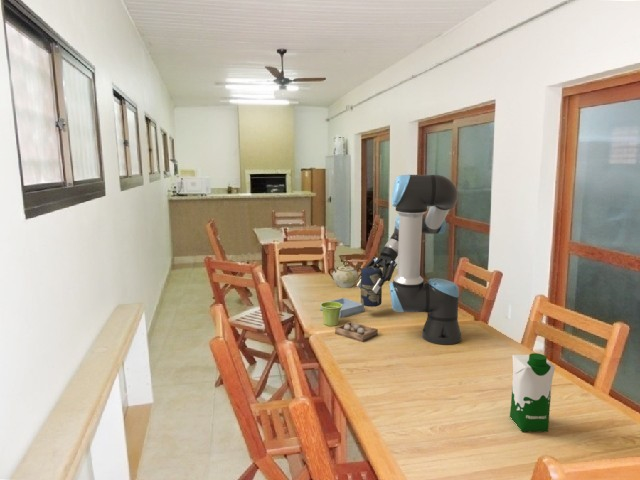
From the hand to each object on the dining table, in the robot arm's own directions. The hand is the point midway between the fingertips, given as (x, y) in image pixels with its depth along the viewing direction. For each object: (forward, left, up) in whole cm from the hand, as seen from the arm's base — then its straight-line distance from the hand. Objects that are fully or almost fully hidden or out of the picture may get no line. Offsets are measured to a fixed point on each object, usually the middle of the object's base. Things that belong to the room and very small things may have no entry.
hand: (366, 289), depth 206 cm
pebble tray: (-13, +18, -13) cm, 26 cm away
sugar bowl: (+47, -29, -13) cm, 57 cm away
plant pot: (+3, +18, -13) cm, 23 cm away
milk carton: (-90, +27, -13) cm, 95 cm away
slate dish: (+14, +3, -13) cm, 19 cm away
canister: (0, -3, -8) cm, 9 cm away
